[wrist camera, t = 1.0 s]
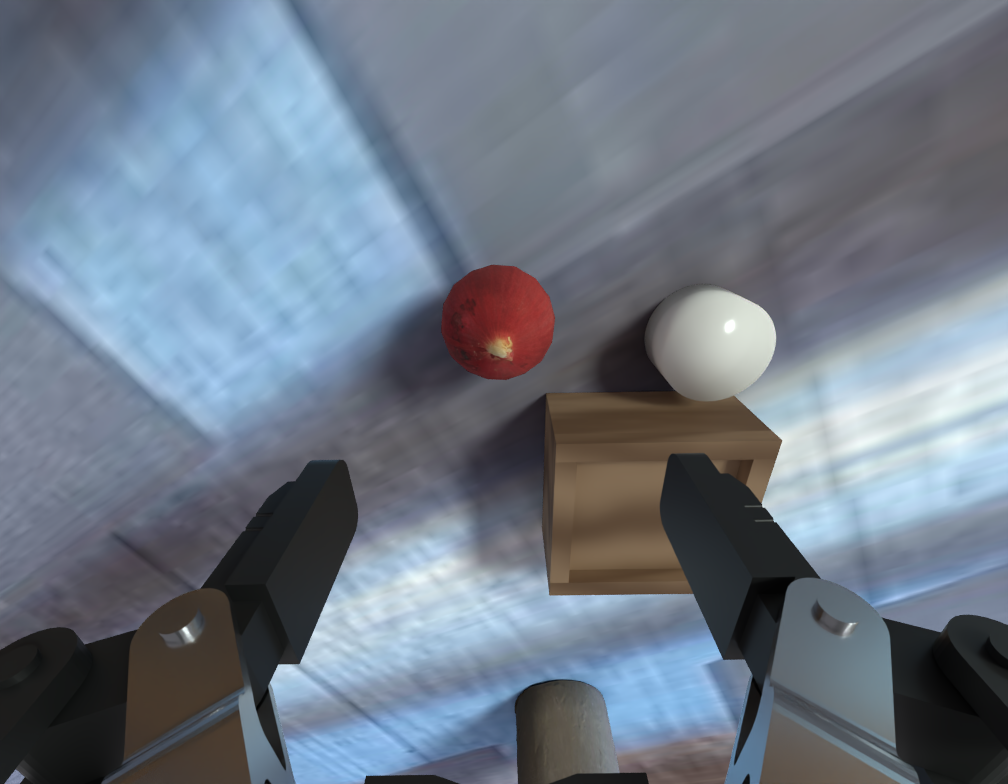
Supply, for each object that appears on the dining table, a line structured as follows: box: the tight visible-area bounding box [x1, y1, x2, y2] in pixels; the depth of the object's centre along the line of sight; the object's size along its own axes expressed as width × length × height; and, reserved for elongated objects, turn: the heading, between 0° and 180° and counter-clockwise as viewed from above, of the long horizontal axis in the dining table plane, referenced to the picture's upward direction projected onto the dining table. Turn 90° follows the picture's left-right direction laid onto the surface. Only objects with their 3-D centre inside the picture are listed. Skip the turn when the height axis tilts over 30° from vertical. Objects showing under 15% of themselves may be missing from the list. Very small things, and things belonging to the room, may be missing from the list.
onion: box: [441, 265, 555, 380], centre depth 21 cm, size 6×6×8 cm
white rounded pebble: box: [644, 284, 776, 401], centre depth 24 cm, size 6×6×4 cm
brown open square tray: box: [542, 391, 782, 595], centre depth 28 cm, size 12×12×6 cm
